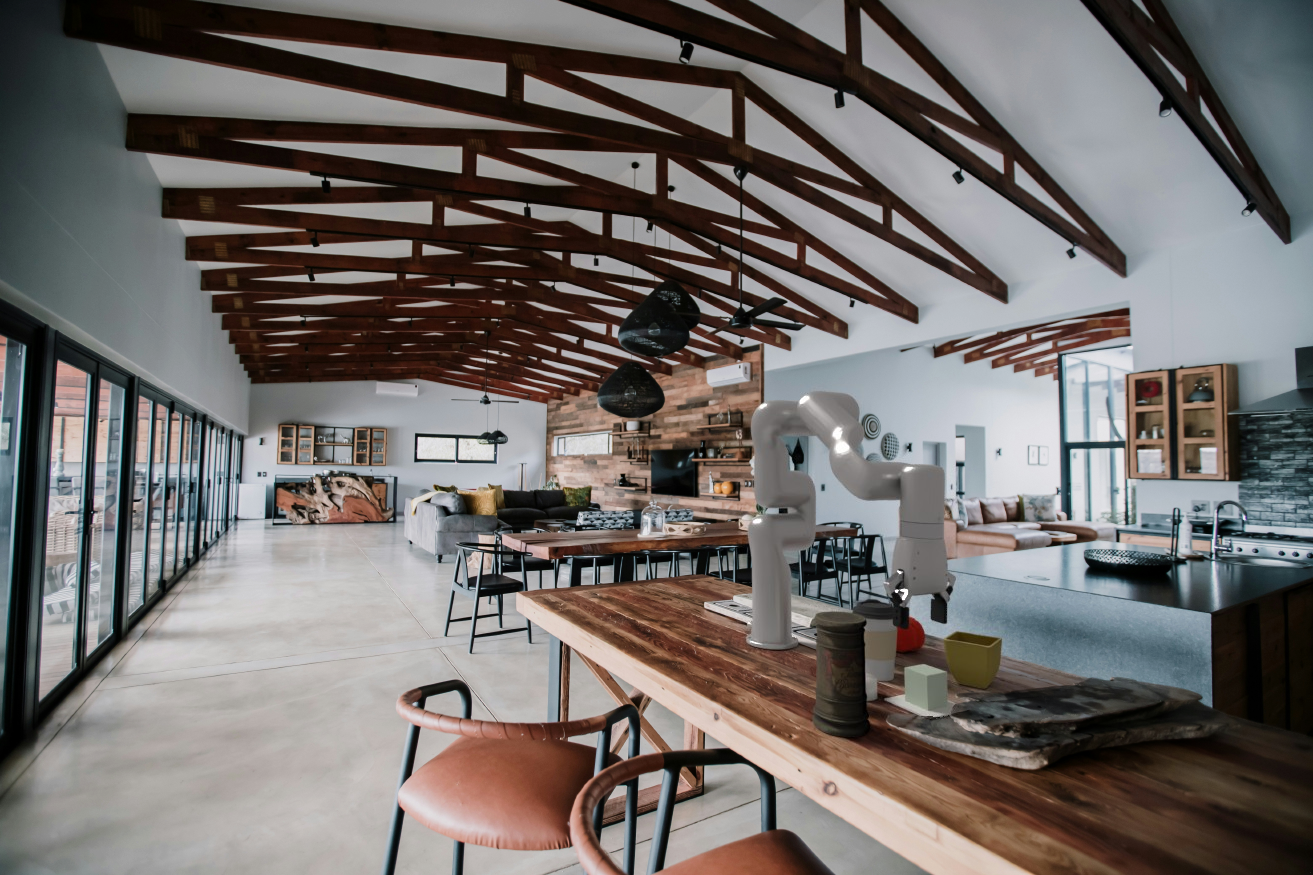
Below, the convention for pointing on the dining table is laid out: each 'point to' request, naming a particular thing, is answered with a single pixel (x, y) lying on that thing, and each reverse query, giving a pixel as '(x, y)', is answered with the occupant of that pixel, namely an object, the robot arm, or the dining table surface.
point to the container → (841, 675)
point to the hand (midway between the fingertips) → (920, 624)
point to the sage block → (926, 687)
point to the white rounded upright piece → (871, 687)
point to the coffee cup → (878, 638)
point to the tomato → (910, 637)
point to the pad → (920, 711)
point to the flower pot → (973, 658)
